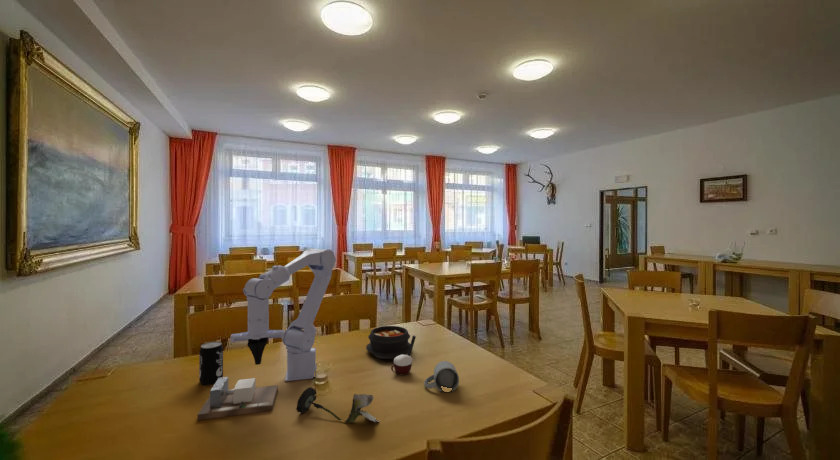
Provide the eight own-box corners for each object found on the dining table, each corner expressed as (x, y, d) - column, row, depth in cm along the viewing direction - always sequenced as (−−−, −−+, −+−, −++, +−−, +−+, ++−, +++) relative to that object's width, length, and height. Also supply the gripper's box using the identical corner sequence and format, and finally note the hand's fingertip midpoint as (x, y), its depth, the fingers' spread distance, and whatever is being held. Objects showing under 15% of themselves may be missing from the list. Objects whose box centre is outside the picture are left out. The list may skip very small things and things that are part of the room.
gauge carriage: (255, 391, 100) (255, 378, 100) (249, 406, 92) (249, 391, 92) (229, 394, 98) (229, 380, 98) (220, 410, 90) (220, 395, 90)
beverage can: (211, 386, 106) (211, 348, 106) (194, 384, 108) (194, 347, 107) (227, 377, 113) (227, 341, 112) (210, 375, 114) (210, 340, 114)
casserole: (416, 362, 127) (417, 340, 127) (366, 365, 124) (367, 342, 124) (407, 340, 152) (407, 321, 152) (365, 342, 148) (365, 323, 148)
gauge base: (277, 389, 105) (277, 384, 105) (272, 410, 93) (272, 404, 93) (211, 397, 100) (211, 392, 100) (197, 420, 88) (197, 414, 88)
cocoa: (392, 378, 114) (391, 344, 113) (389, 370, 120) (388, 337, 119) (419, 375, 116) (418, 340, 115) (415, 366, 122) (414, 334, 121)
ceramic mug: (455, 380, 112) (455, 357, 112) (459, 392, 104) (459, 368, 104) (423, 381, 112) (423, 358, 111) (425, 393, 103) (424, 369, 103)
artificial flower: (313, 407, 98) (323, 371, 100) (380, 436, 89) (389, 396, 91) (292, 414, 90) (303, 375, 92) (363, 446, 81) (374, 402, 83)
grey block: (228, 393, 99) (228, 376, 99) (220, 408, 91) (220, 389, 91) (218, 394, 98) (218, 377, 98) (210, 409, 91) (210, 390, 90)
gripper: (228, 324, 96) (228, 371, 96) (283, 320, 100) (283, 365, 100) (233, 317, 102) (233, 362, 103) (284, 314, 107) (284, 356, 107)
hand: (258, 363), depth 102 cm, fingers closed
